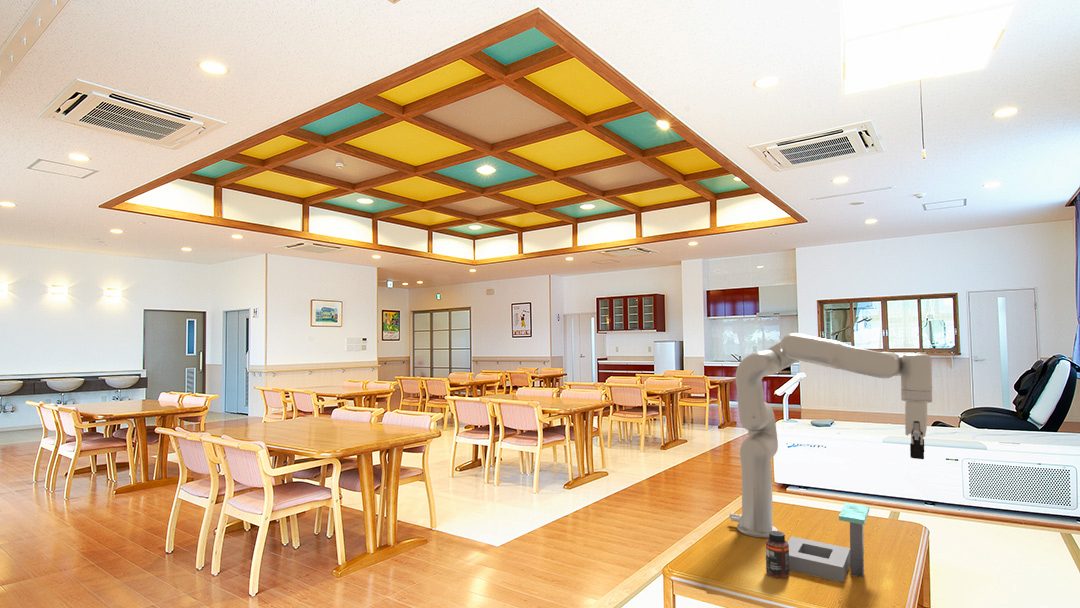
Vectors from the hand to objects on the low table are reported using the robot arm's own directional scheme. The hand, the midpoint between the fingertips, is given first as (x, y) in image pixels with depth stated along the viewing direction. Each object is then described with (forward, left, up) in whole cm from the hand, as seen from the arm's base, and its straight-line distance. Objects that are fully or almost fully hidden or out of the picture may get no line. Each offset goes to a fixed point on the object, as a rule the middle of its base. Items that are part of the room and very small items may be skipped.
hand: (917, 455), depth 165 cm
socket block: (-25, -18, -31) cm, 43 cm away
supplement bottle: (-32, -31, -31) cm, 54 cm away
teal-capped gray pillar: (-14, -18, -31) cm, 39 cm away
